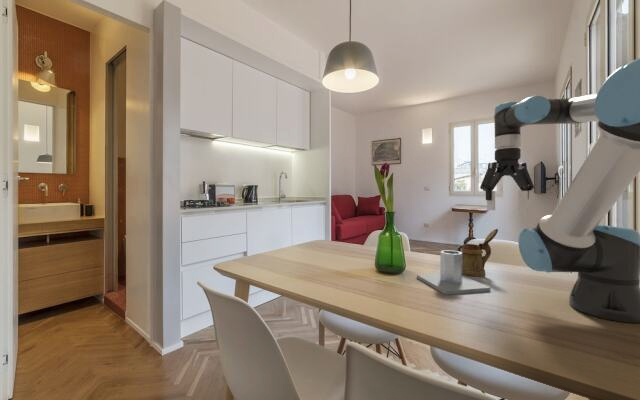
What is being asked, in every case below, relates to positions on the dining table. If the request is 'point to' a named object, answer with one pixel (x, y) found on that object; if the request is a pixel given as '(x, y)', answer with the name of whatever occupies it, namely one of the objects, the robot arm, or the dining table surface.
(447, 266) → the sleeve
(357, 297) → the dining table surface
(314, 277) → the dining table surface
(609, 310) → the robot arm
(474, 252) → the wooden mug
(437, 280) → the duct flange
